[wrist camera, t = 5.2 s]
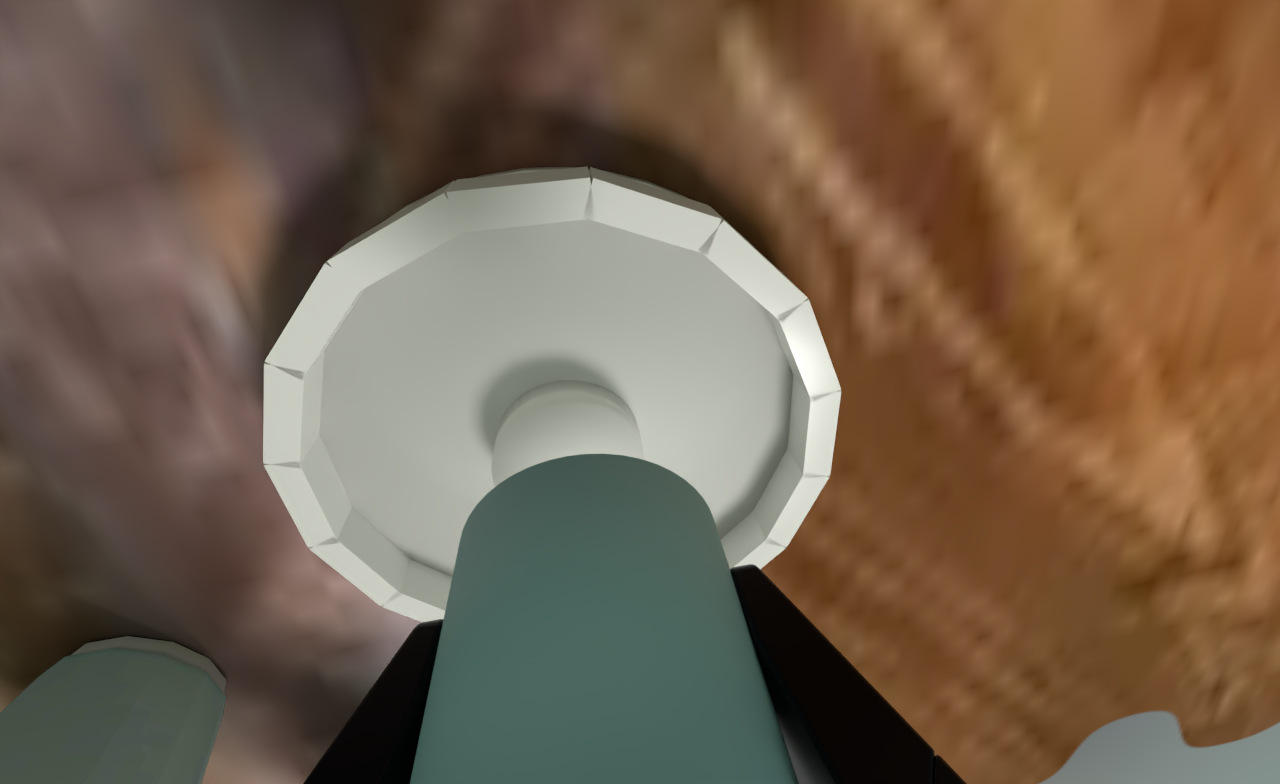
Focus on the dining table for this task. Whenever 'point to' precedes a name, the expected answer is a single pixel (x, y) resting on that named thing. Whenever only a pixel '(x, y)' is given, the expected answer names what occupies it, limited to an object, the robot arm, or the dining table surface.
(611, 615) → the teal bead
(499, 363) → the groove dish
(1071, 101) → the dining table surface
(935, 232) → the dining table surface
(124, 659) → the disposable coffee cup
